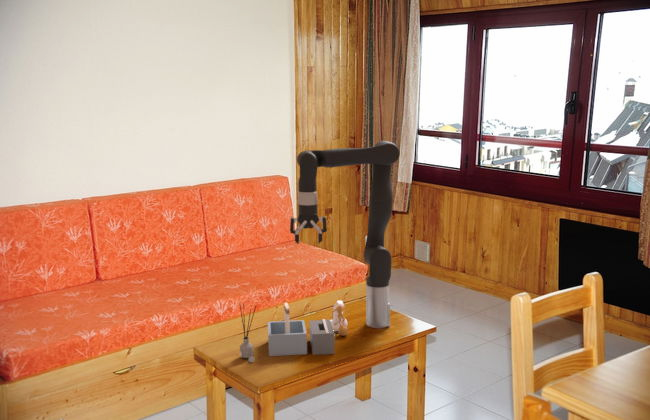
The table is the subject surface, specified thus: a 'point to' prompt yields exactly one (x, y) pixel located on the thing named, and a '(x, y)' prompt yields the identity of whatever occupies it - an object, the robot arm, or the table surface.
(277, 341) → the bin
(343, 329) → the figurine
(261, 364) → the table surface
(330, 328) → the dispenser
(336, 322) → the white creature statuette
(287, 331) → the ticket
